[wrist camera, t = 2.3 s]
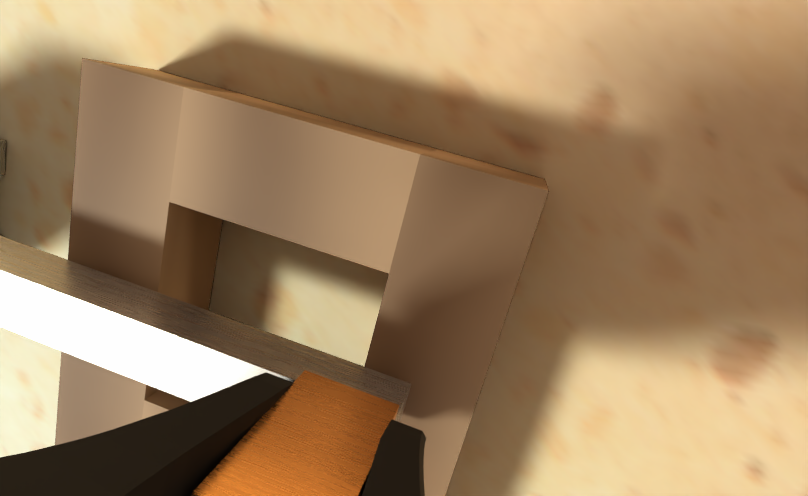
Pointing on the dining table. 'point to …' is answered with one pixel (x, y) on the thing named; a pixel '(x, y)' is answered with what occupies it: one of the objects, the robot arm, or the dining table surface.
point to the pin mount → (2, 156)
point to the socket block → (294, 234)
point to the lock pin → (210, 372)
